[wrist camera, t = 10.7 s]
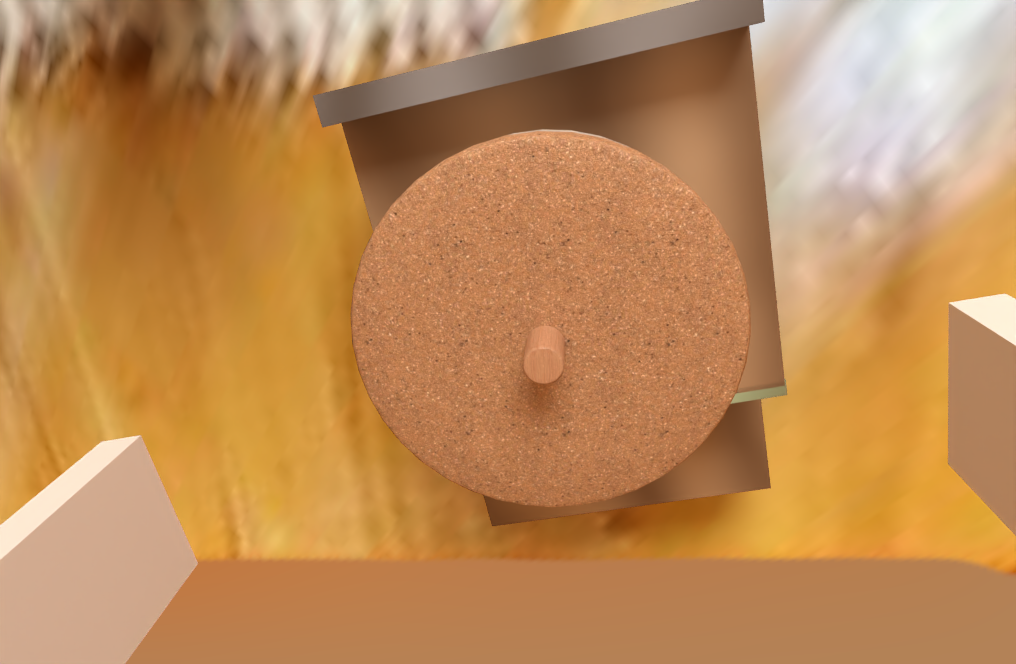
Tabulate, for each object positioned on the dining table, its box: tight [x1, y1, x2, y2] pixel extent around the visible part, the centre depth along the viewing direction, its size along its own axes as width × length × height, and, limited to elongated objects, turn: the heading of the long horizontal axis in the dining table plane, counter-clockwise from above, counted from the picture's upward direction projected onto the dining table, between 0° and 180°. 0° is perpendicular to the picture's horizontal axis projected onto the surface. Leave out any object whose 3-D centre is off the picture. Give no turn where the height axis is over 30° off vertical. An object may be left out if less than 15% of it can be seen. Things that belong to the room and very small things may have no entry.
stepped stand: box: [313, 0, 787, 526], centre depth 31 cm, size 14×22×12 cm, turn 13°
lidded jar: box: [351, 129, 751, 507], centre depth 22 cm, size 11×11×9 cm
